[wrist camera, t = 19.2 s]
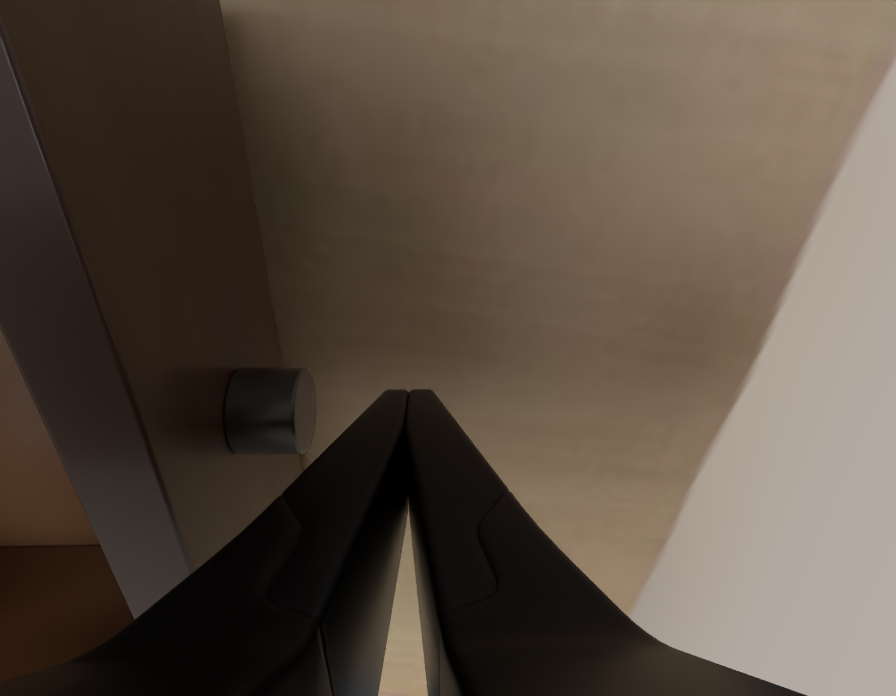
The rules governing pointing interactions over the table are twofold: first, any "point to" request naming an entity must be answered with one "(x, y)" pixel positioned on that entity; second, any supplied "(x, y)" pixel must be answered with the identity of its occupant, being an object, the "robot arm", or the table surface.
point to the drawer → (127, 320)
